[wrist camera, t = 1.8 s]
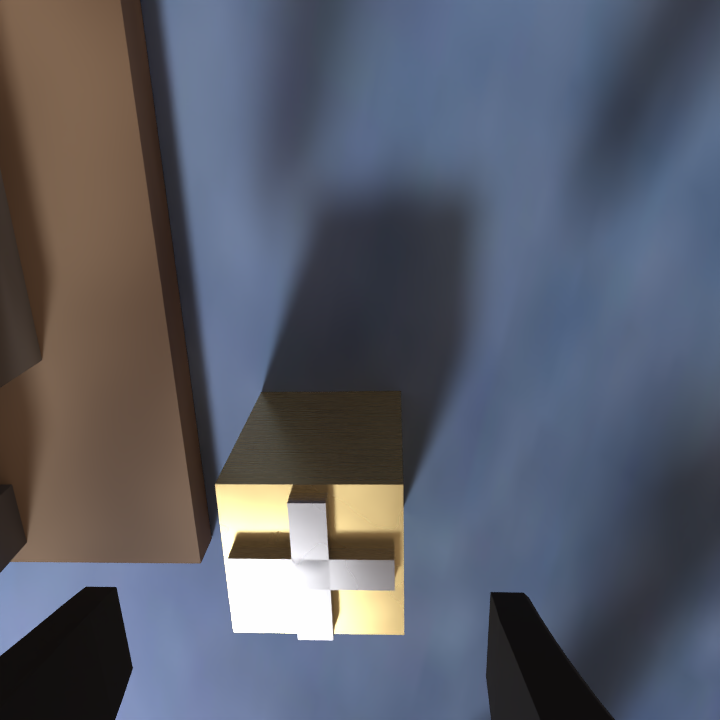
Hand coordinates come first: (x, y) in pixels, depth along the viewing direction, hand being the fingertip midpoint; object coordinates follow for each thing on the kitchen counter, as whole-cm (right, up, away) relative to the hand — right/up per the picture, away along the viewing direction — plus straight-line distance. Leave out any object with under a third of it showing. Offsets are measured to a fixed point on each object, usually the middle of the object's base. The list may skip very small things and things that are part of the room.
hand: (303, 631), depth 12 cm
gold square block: (0, +2, +7) cm, 7 cm away
